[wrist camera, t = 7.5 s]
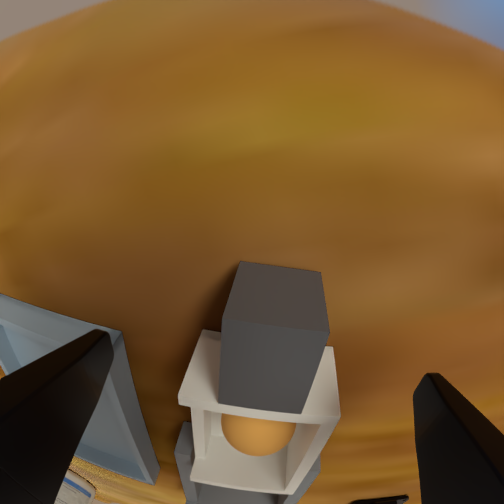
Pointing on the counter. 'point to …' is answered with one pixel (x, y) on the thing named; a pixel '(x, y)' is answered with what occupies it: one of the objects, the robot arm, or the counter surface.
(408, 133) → the counter surface
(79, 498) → the supplement tub
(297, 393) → the white open-front box
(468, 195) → the counter surface
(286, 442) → the ball
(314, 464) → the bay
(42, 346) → the tray
